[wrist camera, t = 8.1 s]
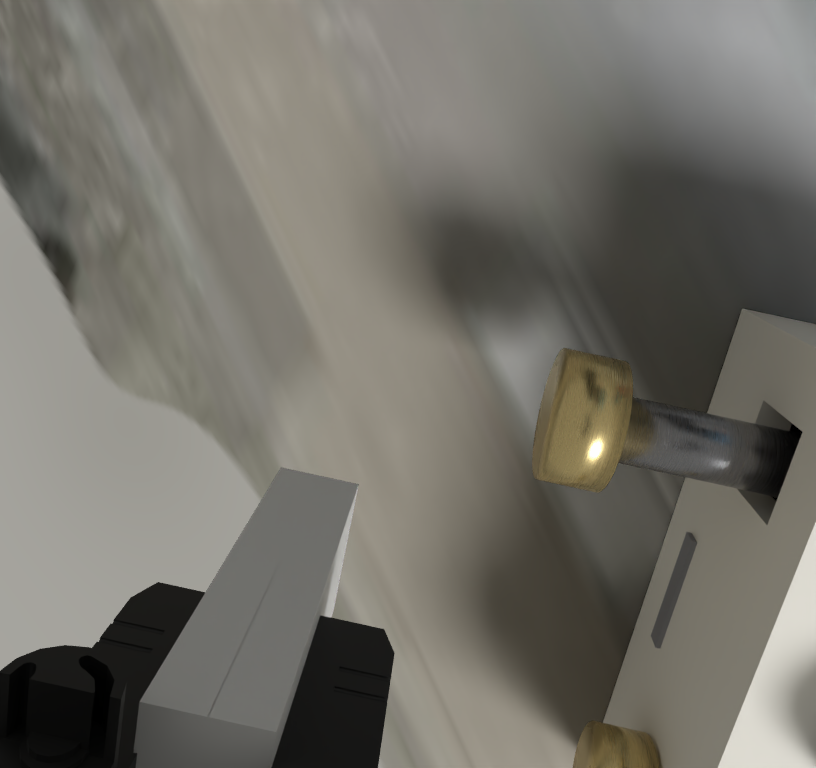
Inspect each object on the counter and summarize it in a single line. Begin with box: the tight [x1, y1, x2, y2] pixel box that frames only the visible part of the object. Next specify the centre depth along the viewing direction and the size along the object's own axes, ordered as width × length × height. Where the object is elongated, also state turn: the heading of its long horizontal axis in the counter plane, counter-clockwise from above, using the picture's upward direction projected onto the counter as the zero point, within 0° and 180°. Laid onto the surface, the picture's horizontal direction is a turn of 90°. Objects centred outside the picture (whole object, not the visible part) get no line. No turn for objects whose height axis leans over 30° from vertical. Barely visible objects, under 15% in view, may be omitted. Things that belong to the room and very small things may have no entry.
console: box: [603, 308, 816, 768], centre depth 28 cm, size 22×9×10 cm, turn 169°
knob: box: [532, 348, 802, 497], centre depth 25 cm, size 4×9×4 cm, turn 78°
